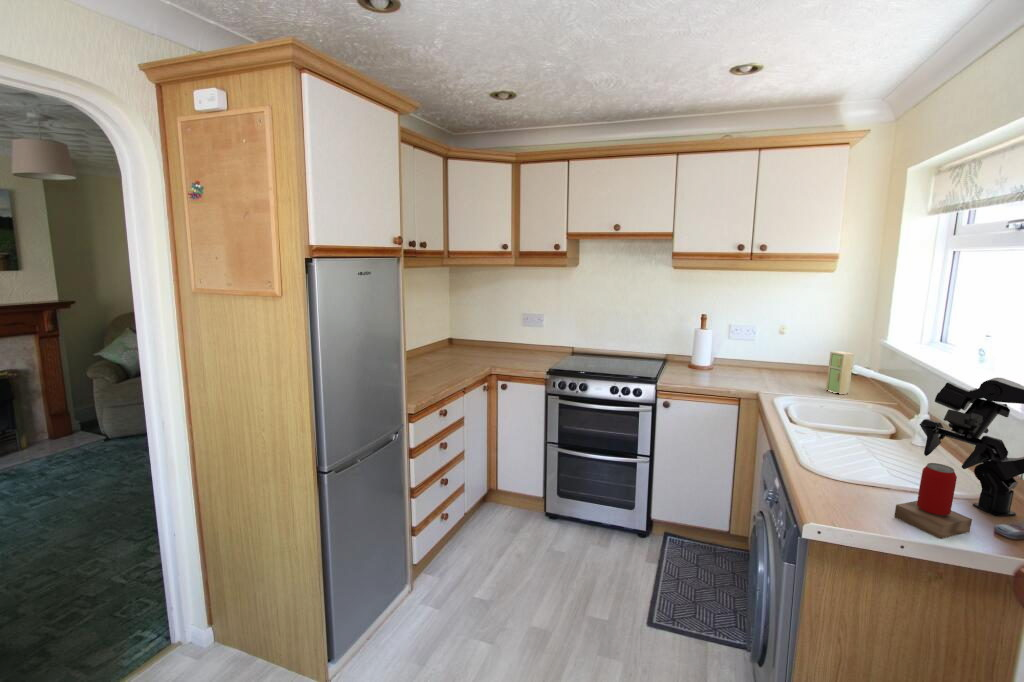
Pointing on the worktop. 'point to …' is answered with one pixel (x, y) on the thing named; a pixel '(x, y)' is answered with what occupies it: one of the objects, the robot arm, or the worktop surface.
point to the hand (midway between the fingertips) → (943, 461)
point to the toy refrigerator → (839, 371)
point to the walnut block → (933, 520)
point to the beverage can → (937, 489)
